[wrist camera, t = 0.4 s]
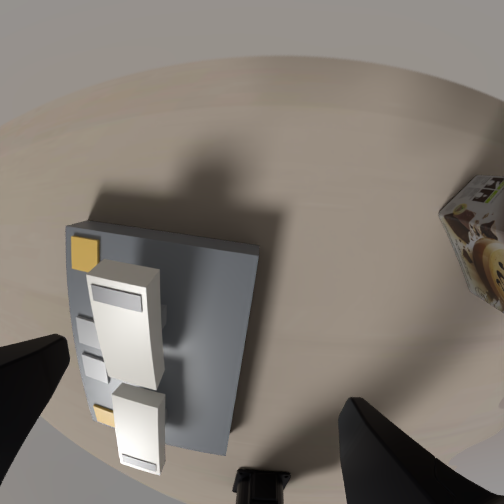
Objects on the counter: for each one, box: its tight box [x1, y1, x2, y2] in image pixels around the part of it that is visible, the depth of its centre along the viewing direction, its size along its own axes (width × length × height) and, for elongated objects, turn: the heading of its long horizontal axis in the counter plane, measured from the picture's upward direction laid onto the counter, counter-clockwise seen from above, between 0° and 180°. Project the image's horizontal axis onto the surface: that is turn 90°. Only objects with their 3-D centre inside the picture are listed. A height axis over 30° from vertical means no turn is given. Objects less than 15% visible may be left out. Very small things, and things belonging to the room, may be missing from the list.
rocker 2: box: [112, 382, 166, 475], centre depth 18 cm, size 8×4×2 cm, turn 172°
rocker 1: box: [86, 259, 165, 390], centre depth 15 cm, size 8×4×2 cm, turn 171°
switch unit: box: [66, 220, 259, 456], centre depth 21 cm, size 20×14×4 cm
